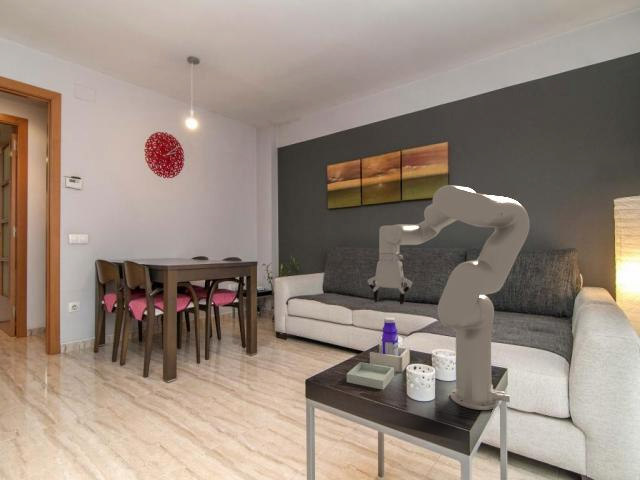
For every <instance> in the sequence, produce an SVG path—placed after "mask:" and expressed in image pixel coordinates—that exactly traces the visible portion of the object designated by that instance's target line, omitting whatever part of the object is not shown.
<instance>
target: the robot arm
mask: <svg viewBox="0 0 640 480" xmlns="http://www.w3.org/2000/svg"><path fill="white" fill-rule="evenodd" d="M528 214H529V213H528V212H527V210H526V208H525V207H524V206H523V205H522V204H521V203H519V202H518V201H517V200H515V199H512V198H509V197H504V196H497V195H490V194H489V195H488V194H483V193H477V192H476V191H475V190H473V189H472V188H470V187H466V186H461V185H453V184H448V185H446V184H445V185H443V186H440V188H438V189H437V190H436V191H435V192H434V194H433V196H432V203H431V204H429V205H427V206H426V207H425V209H424V212H423V216H424V220H423V221H421V222H419V223H417V224H411V223H410V224H407V223H405V224H402V223H399V224H398V223H397V224H393V225H382V226H380V228H379V235H378V237H379V240H378V241H379V242H378V243H379V247H378V248H379V250H378V252H379V253H378V254H379V255H378V256H379V257H378V258H379V259H378V261H377V264H376V269H375V270H376V271H375V275H374V276H373V277H371V278H368V279H367V283H368V285H369V287H370V289H371V290H372V291H373V300H374V302H375V303H378V302H380V291H379V289H380V288H385V289H386V288H387V289H397V290H398V291H399V292H400V293H399V305H404V303H405V302H406V293H407V292H408V291H409V290H410V289H411V287H412V285H413V281H411V280H409V279H408V278H406V277H405V276H404V268H403V262H402V261H400V260H401V259H402V260H403V259H404V255H403V254H401V253H400V246H417V245H421V244H424V243H425V242H428V241H429V240H432V239H434V238H435V237H437V236H438V235H439V234H440V232H441V230H442V229H443V228H446V226H450V225H451V224H452V223H455V222H456V221H459V222H461V223H462V222H463V223H465V224H467V225H470V226H473V227H480V228H494V231H493V232H492V234H491V235H490V236H489V237H488V238H487V239H486V241H485V243H484V245H483V247H482V250H481V251H480V253H479V255H478V257H477V259H475V260H468V261H464V262H463V261H462V262H461V263H458V265H457V266H455V267H454V269H453V270H452V271H451V273H450V275H449V277H448V280H447V281H446V284H445V287H444V288H443V291H442V294H441V296H440V299H439V301H438V304H437V317H438V320H439V321H440V323H441V325H443V326H444V327H446V328H448V329H451V330H456V333H455V388H453V389H452V390H451V391H450V398H451V401H453V402H454V403H456V404H457V405H459V406H462V407H464V408H467V409H472V410H477V411H489V410H493V409H495V408H497V407H498V403H499V401H500V402H504V403H510V402H511V401H510V397H511V396H510V394H506V393H505V391H502V390H496V389H495V388H494V385H493V384H492V329H493V324H494V318H495V307H494V304H493V302H492V300H491V299H490V298H489V296H487V295H490V294H495V293H497V292H499V291H500V290H501V289H502V288H503V287H504V284H505V282H506V280H507V278H508V276H509V274H510V272H511V270H512V268H513V266H514V264H515V262H516V259H517V257H518V255H519V253H520V251H521V249H522V247H523V246H524V245H525V242H526V240H527V238H528V235H529V232H530V225H531V224H530V217H529V215H528ZM374 281H375V284H374V283H373V282H374ZM405 284H407V285H406V287H404V285H405Z"/></svg>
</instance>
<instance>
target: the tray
mask: <svg viewBox="0 0 640 480" xmlns="http://www.w3.org/2000/svg"><path fill="white" fill-rule="evenodd" d="M394 377H395V372H394V368H392V367H387V366H381V365H375V364H370V362H369V363H368V362H363V361H360V362H358V363H357V364H356V365H355V366H354V367H353V368H351V369H350V370H349V371H348V372H347V373H346V383H349V384H354V385H359V386H363V387H369V388H373V389H378V390H385V388H386V387H387V386H388V385H389V383H390V382H391V381H392V379H393V378H394Z"/></svg>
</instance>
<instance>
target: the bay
mask: <svg viewBox="0 0 640 480" xmlns="http://www.w3.org/2000/svg"><path fill="white" fill-rule="evenodd" d="M378 345H379V346H378V352H374V351H370V352H369V364H375V365H381V366H387V367H392V368H394V373H398V374H403V372H404V371H405V370H406V369H407V367H408V366H409V364H410V362H411V351H410V350H411V349H410V347H409V348H408V347H402V346H398V356H394V355H388V354H382V343H381V344H378ZM407 365H408V366H407ZM406 366H407V367H406Z"/></svg>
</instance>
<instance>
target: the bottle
mask: <svg viewBox="0 0 640 480" xmlns="http://www.w3.org/2000/svg"><path fill="white" fill-rule="evenodd" d="M383 324H384V325H383V328H382V335H381V344H382V354H388V355H394V356H398V347H399V335H398V328H397V326H396V318H395V317H390V316H389V317H387V316H386V317H384V323H383Z"/></svg>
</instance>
